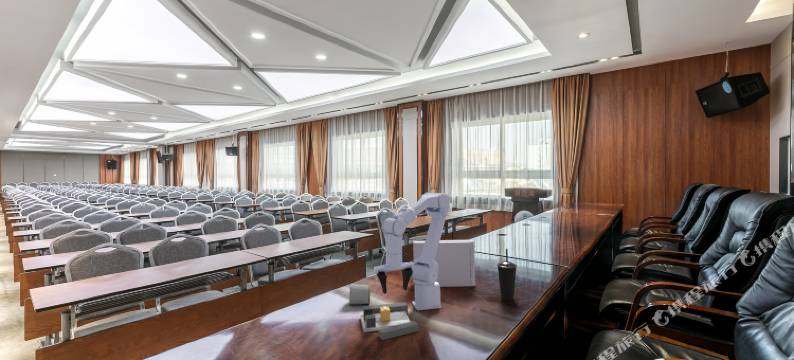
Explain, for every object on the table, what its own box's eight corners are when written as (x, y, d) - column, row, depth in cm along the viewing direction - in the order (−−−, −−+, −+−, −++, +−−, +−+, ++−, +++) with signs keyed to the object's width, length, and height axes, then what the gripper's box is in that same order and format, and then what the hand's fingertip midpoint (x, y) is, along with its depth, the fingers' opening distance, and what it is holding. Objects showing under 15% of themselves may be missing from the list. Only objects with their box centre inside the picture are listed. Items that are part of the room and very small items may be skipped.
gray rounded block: (370, 306, 136) (370, 286, 136) (349, 307, 135) (348, 287, 135) (370, 297, 146) (370, 278, 146) (350, 298, 146) (350, 279, 146)
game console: (476, 286, 156) (475, 242, 156) (414, 287, 157) (413, 243, 156) (473, 282, 162) (472, 239, 162) (414, 283, 162) (413, 240, 162)
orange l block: (388, 316, 123) (388, 305, 123) (390, 320, 120) (390, 309, 120) (380, 317, 122) (379, 306, 122) (381, 321, 119) (381, 310, 119)
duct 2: (414, 328, 117) (414, 320, 117) (419, 331, 114) (418, 324, 114) (378, 337, 111) (378, 329, 111) (382, 341, 109) (382, 333, 108)
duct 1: (406, 310, 132) (406, 302, 132) (408, 313, 129) (407, 305, 129) (371, 313, 130) (371, 305, 130) (372, 316, 127) (372, 308, 127)
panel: (404, 313, 128) (404, 302, 128) (411, 326, 117) (411, 314, 117) (360, 318, 125) (360, 306, 125) (363, 332, 114) (363, 319, 114)
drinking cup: (496, 301, 139) (495, 250, 138) (498, 294, 146) (497, 246, 145) (516, 303, 136) (516, 251, 135) (518, 296, 143) (517, 247, 142)
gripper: (408, 248, 129) (409, 284, 130) (370, 252, 124) (371, 290, 125) (416, 252, 123) (417, 290, 123) (376, 256, 118) (377, 297, 118)
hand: (394, 291), depth 123 cm, fingers open, 7 cm apart
